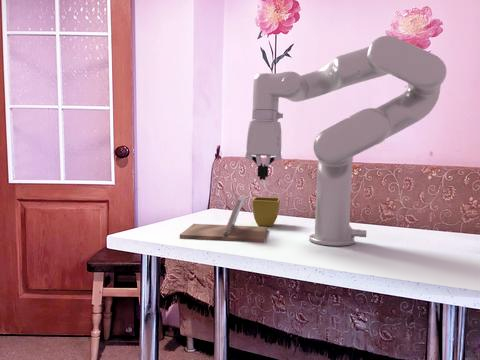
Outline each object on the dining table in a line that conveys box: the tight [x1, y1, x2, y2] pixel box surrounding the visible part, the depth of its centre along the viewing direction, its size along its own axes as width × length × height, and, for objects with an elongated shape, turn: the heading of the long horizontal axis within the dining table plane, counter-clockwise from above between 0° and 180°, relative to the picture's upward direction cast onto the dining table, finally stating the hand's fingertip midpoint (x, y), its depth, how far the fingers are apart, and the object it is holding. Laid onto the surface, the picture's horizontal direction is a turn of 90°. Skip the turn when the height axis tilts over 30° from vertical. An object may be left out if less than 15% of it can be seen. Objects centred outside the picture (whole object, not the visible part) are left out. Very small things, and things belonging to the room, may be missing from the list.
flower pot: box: [251, 196, 281, 227], centre depth 148 cm, size 9×9×9 cm
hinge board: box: [179, 223, 268, 243], centre depth 132 cm, size 24×18×2 cm
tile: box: [225, 194, 246, 232], centre depth 131 cm, size 10×12×1 cm
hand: (262, 179), depth 130 cm, fingers closed
